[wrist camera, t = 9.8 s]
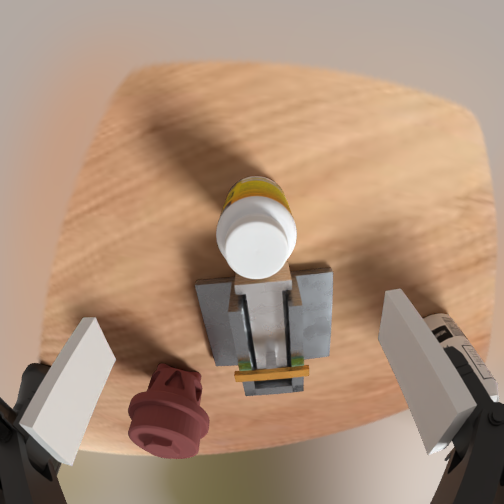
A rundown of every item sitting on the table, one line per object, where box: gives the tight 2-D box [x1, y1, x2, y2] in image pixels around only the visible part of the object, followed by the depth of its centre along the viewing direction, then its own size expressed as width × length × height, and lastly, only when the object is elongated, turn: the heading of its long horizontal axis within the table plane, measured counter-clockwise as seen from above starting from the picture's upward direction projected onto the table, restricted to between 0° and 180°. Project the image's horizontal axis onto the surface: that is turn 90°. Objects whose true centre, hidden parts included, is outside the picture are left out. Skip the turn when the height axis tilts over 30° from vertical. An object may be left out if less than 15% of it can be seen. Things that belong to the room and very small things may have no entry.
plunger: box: [234, 261, 309, 382], centre depth 29 cm, size 7×11×6 cm, turn 7°
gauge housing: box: [195, 267, 333, 396], centre depth 30 cm, size 14×12×6 cm
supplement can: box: [423, 313, 499, 402], centre depth 28 cm, size 8×8×15 cm
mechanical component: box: [128, 363, 209, 459], centre depth 32 cm, size 12×10×10 cm
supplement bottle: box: [216, 176, 297, 279], centre depth 23 cm, size 6×6×10 cm
